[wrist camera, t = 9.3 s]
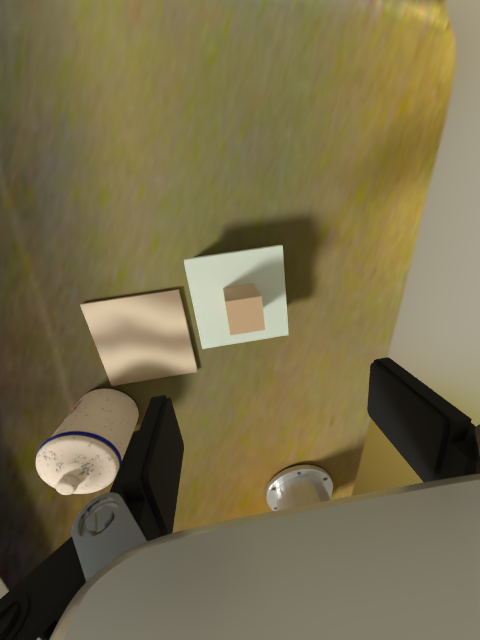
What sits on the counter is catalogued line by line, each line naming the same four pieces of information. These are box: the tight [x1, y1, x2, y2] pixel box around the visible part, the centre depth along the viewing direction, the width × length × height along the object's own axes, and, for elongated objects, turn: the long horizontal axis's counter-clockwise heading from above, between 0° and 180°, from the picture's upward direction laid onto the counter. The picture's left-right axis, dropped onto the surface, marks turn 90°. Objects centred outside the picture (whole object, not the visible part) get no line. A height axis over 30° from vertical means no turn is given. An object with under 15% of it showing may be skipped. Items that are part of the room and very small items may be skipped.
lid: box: [184, 245, 288, 349], centre depth 25 cm, size 10×10×6 cm
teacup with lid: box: [36, 389, 139, 495], centre depth 32 cm, size 12×9×12 cm
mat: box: [80, 289, 198, 386], centre depth 33 cm, size 12×12×1 cm
